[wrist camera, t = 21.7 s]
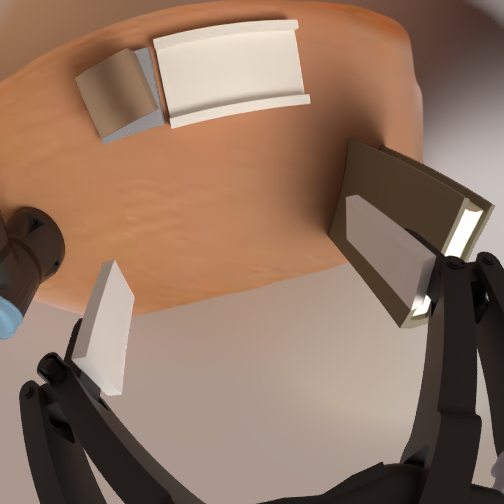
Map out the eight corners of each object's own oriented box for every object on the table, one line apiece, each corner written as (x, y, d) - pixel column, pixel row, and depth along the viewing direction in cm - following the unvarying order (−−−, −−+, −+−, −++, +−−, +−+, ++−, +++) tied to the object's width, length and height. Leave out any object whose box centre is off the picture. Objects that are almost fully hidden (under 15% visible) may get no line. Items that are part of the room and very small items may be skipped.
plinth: (108, 141, 38) (103, 144, 36) (91, 71, 31) (85, 69, 29) (165, 122, 39) (163, 124, 37) (150, 50, 32) (147, 46, 30)
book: (360, 238, 60) (436, 323, 37) (325, 237, 58) (399, 334, 35) (385, 146, 49) (494, 205, 26) (348, 138, 47) (464, 197, 24)
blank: (112, 133, 35) (101, 138, 30) (89, 79, 30) (74, 78, 25) (159, 108, 35) (154, 110, 30) (135, 53, 30) (127, 47, 25)
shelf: (172, 126, 40) (171, 128, 37) (155, 43, 32) (152, 39, 29) (303, 102, 42) (310, 103, 39) (290, 23, 34) (297, 19, 31)
